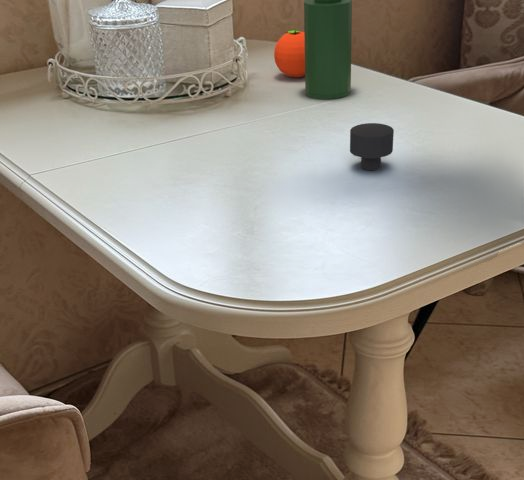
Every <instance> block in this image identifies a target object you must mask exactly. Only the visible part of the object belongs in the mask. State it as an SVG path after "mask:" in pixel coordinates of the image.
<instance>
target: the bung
mask: <svg viewBox="0 0 524 480" xmlns="http://www.w3.org/2000/svg"><path fill="white" fill-rule="evenodd" d="M394 131H395V130H394V128H393V127H392V126H390V125H388V124H384V123H378V122H377V123H376V122H367V123H360V124H357V125H354V126H352V127H351V128H350V131H349V152H350V154H351V155H352V156H355V157H357V158H360V168H361V169H362V170H365V171H377V170H379V169H380V168H381V164H382V163H381V162H382V158H385V157H387V156H390V155H392V153H393V151H394V134H395V132H394Z"/></svg>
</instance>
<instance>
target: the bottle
mask: <svg viewBox="0 0 524 480" xmlns="http://www.w3.org/2000/svg"><path fill="white" fill-rule="evenodd" d="M303 23H304V24H303V25H304V26H303V32H304V36H305V75H304V85H305V86H304V87H305V88H304V90H305V91H304V92H305V95H306V96H307V97H309V98H312V99H316V100H317V99H318V100H334V99H341V98H344V97H347V96H348V95H350V94H351V87H352V36H353V35H352V34H353V33H352V32H353V31H352V27H353V26H352V25H353V0H303Z"/></svg>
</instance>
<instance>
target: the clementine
mask: <svg viewBox="0 0 524 480" xmlns="http://www.w3.org/2000/svg"><path fill="white" fill-rule="evenodd" d="M273 58H274V62H275V65H276V67H277V68H278V70H279V71H280V72H281V73H282V74H284V75H285V76H288V77H292V78H300V77H303V76H305V36H304V31H299V30H296V29H293V30H288V31H286V32H285V33H284V34H283V35H282V36H281V37H280V38H279V39H278V40H277V41H276V44H275V46H274V52H273Z"/></svg>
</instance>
